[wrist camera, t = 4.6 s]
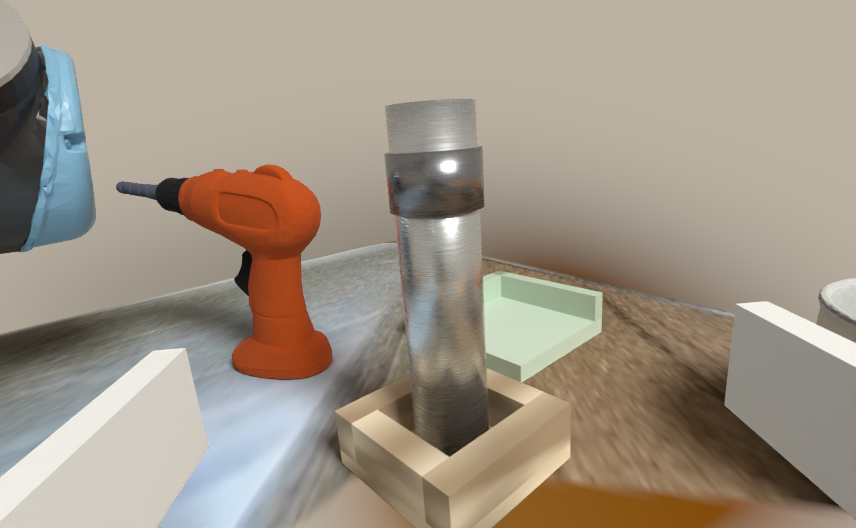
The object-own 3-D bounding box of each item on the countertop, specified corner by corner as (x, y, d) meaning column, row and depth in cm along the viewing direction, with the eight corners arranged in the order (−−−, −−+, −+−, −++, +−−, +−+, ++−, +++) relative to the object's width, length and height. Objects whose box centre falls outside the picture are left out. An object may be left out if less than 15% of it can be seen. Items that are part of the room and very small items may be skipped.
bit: (396, 447, 23) (360, 109, 19) (453, 413, 26) (433, 107, 21) (452, 488, 20) (425, 98, 16) (511, 444, 23) (501, 98, 18)
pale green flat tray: (418, 339, 37) (415, 301, 36) (500, 303, 43) (499, 270, 42) (521, 383, 30) (520, 336, 29) (601, 331, 36) (602, 292, 35)
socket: (342, 462, 23) (334, 411, 23) (454, 397, 28) (451, 353, 28) (453, 561, 18) (448, 496, 17) (569, 457, 23) (570, 403, 22)
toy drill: (167, 315, 42) (142, 146, 38) (345, 363, 36) (342, 166, 31) (115, 338, 38) (79, 150, 33) (307, 397, 31) (297, 174, 27)
